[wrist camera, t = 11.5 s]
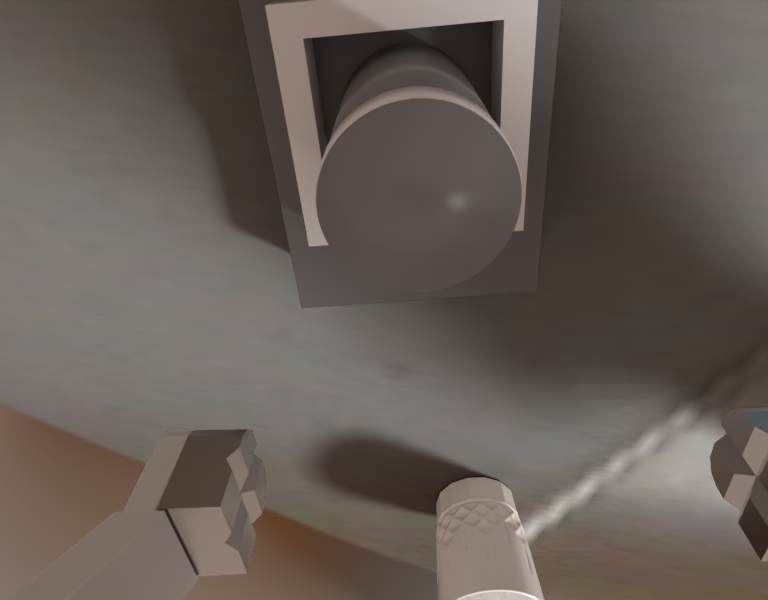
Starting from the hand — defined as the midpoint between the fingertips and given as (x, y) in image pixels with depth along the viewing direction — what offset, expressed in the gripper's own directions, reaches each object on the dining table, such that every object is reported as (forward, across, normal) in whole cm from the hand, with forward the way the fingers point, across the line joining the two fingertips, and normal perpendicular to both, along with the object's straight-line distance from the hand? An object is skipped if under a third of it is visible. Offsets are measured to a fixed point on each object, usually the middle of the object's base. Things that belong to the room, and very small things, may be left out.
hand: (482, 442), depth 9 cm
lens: (+18, +1, -1) cm, 18 cm away
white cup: (+23, -3, +34) cm, 41 cm away
